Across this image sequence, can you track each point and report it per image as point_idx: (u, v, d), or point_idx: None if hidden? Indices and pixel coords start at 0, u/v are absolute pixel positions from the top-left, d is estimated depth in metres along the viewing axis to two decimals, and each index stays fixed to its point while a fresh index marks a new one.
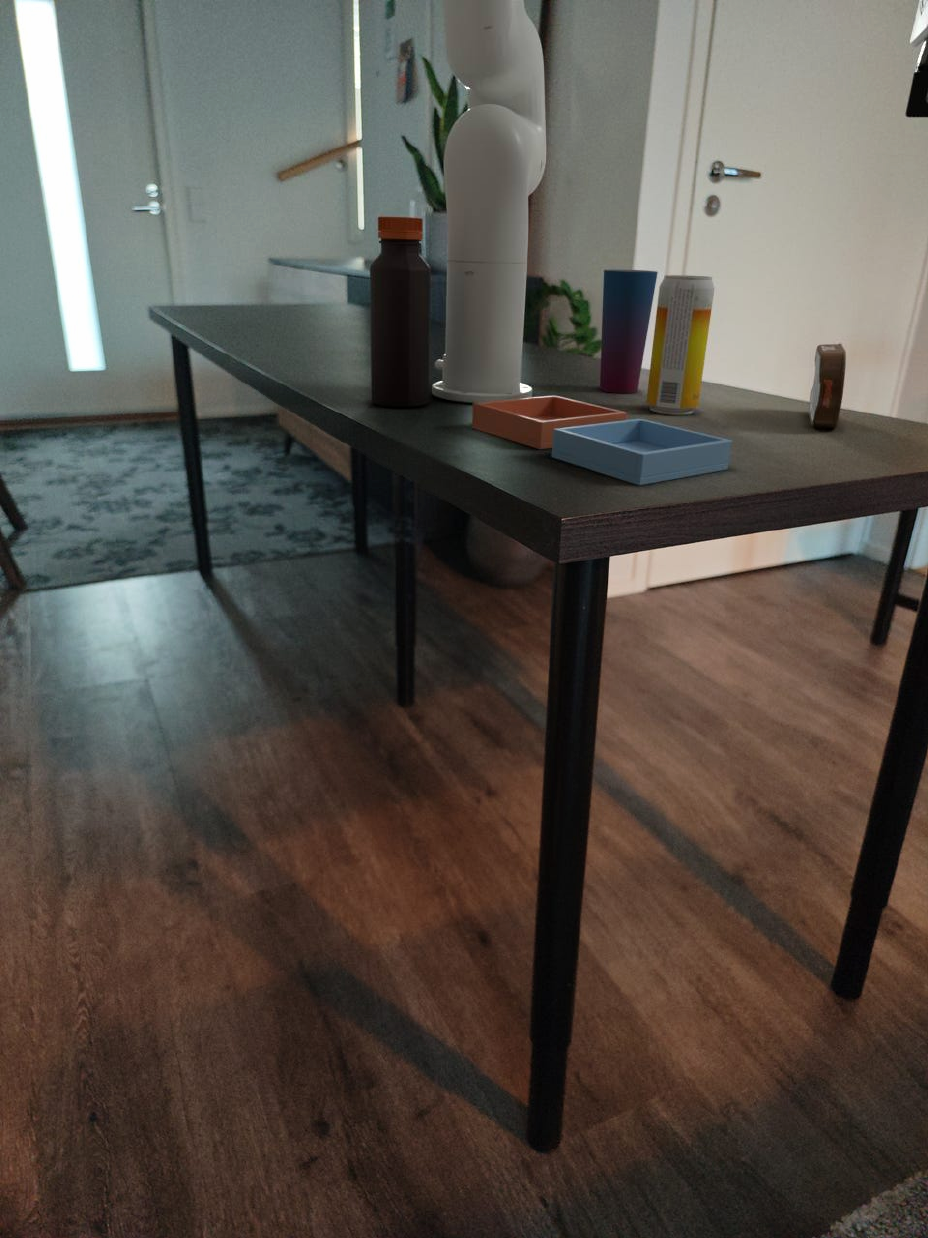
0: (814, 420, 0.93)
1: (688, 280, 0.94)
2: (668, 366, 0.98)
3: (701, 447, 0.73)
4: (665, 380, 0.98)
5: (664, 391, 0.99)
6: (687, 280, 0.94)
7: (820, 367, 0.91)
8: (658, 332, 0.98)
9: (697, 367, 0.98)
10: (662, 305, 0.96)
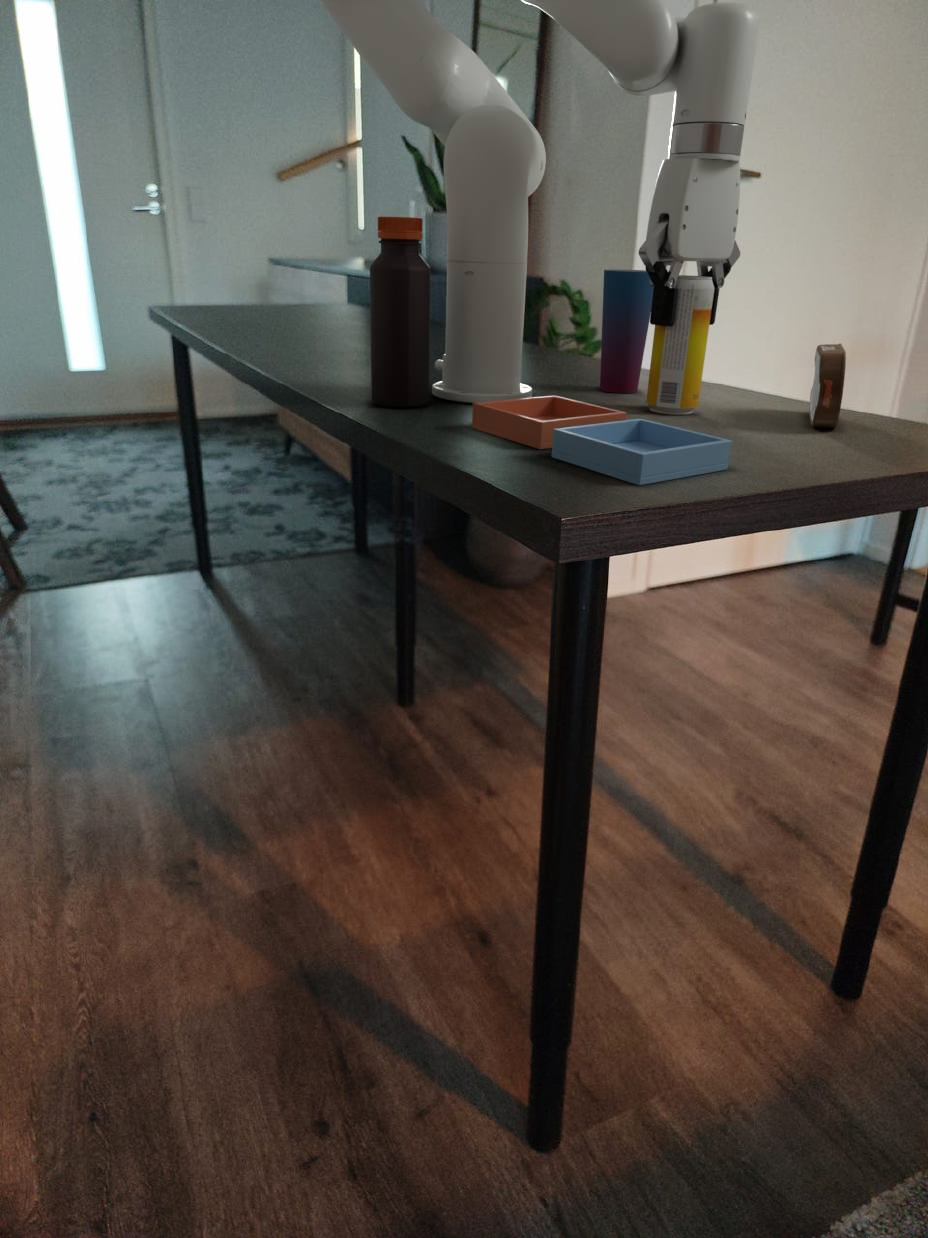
0: (814, 420, 0.93)
1: (688, 280, 0.94)
2: (668, 366, 0.98)
3: (701, 447, 0.73)
4: (665, 380, 0.98)
5: (664, 391, 0.99)
6: (687, 280, 0.94)
7: (820, 367, 0.91)
8: (658, 332, 0.98)
9: (697, 367, 0.98)
10: None
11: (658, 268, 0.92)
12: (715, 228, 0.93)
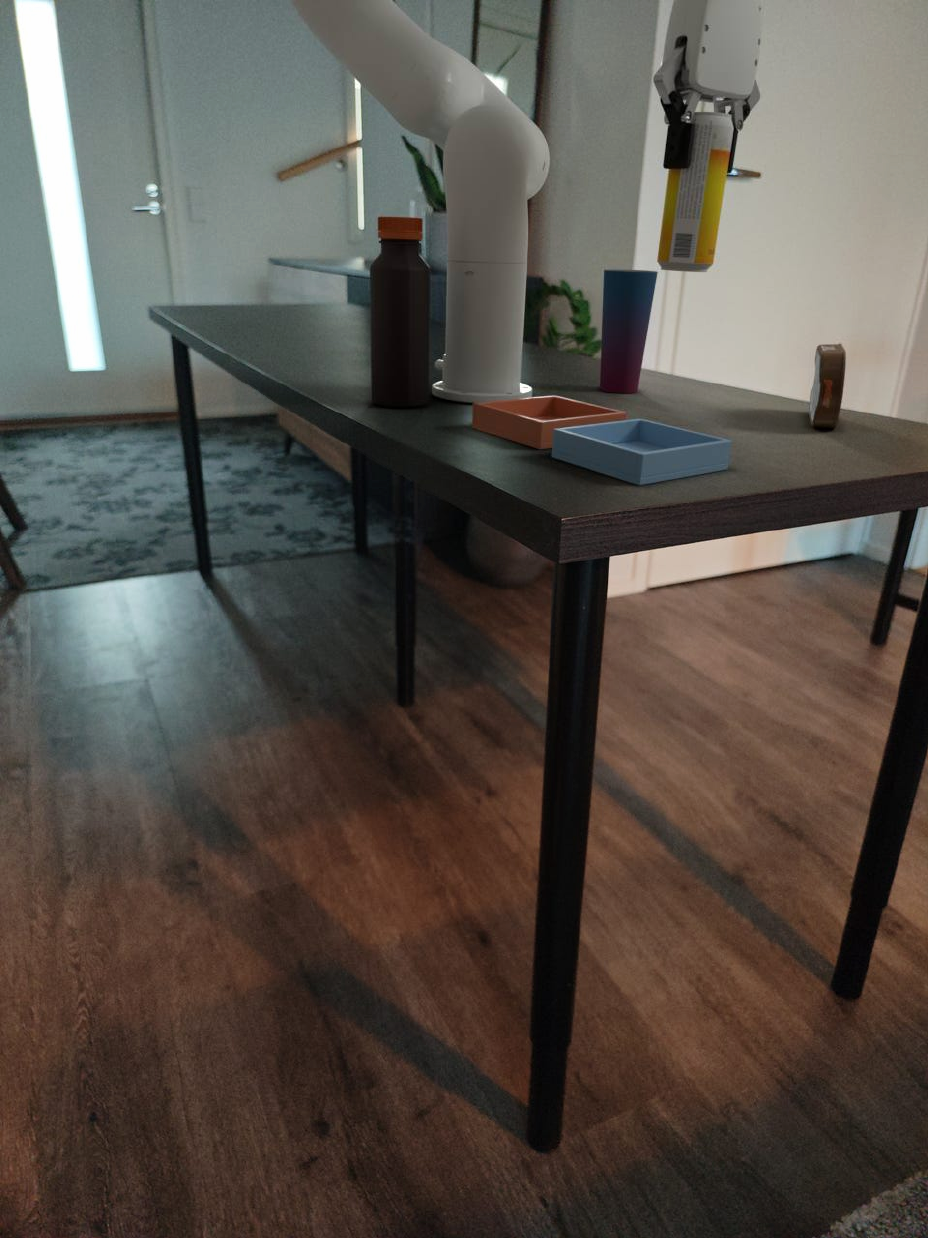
0: (814, 420, 0.93)
1: (706, 115, 0.86)
2: (682, 215, 0.90)
3: (701, 447, 0.73)
4: (679, 231, 0.91)
5: (677, 244, 0.91)
6: (705, 116, 0.86)
7: (820, 367, 0.91)
8: (672, 178, 0.90)
9: (713, 217, 0.90)
10: None
11: (674, 98, 0.84)
12: (736, 57, 0.85)
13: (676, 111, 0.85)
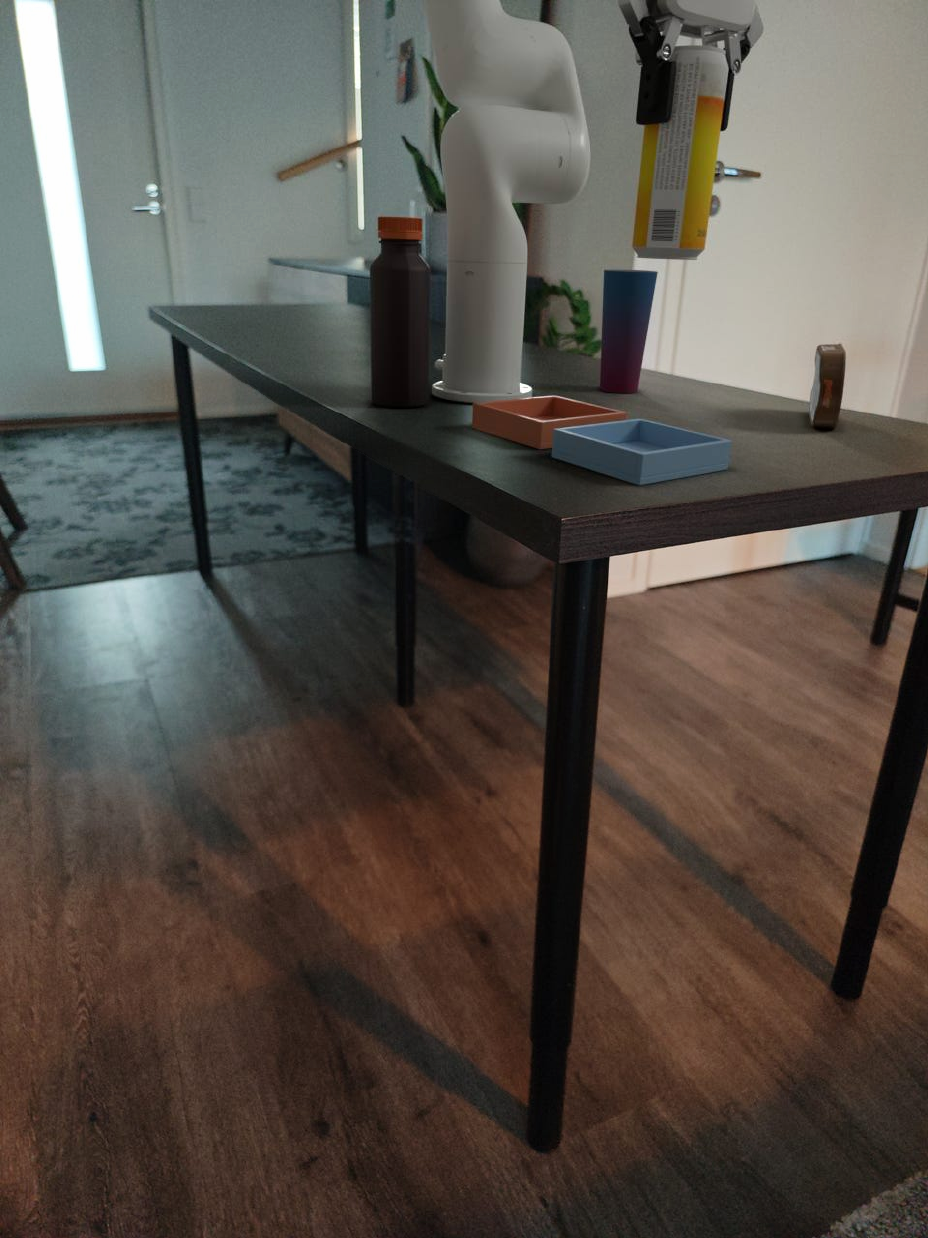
0: (814, 420, 0.93)
1: (691, 50, 0.65)
2: (662, 185, 0.69)
3: (701, 447, 0.73)
4: (658, 206, 0.69)
5: (657, 224, 0.70)
6: (689, 51, 0.65)
7: (820, 367, 0.91)
8: (648, 137, 0.69)
9: (703, 187, 0.69)
10: None
11: (647, 26, 0.63)
12: None
13: (650, 45, 0.64)
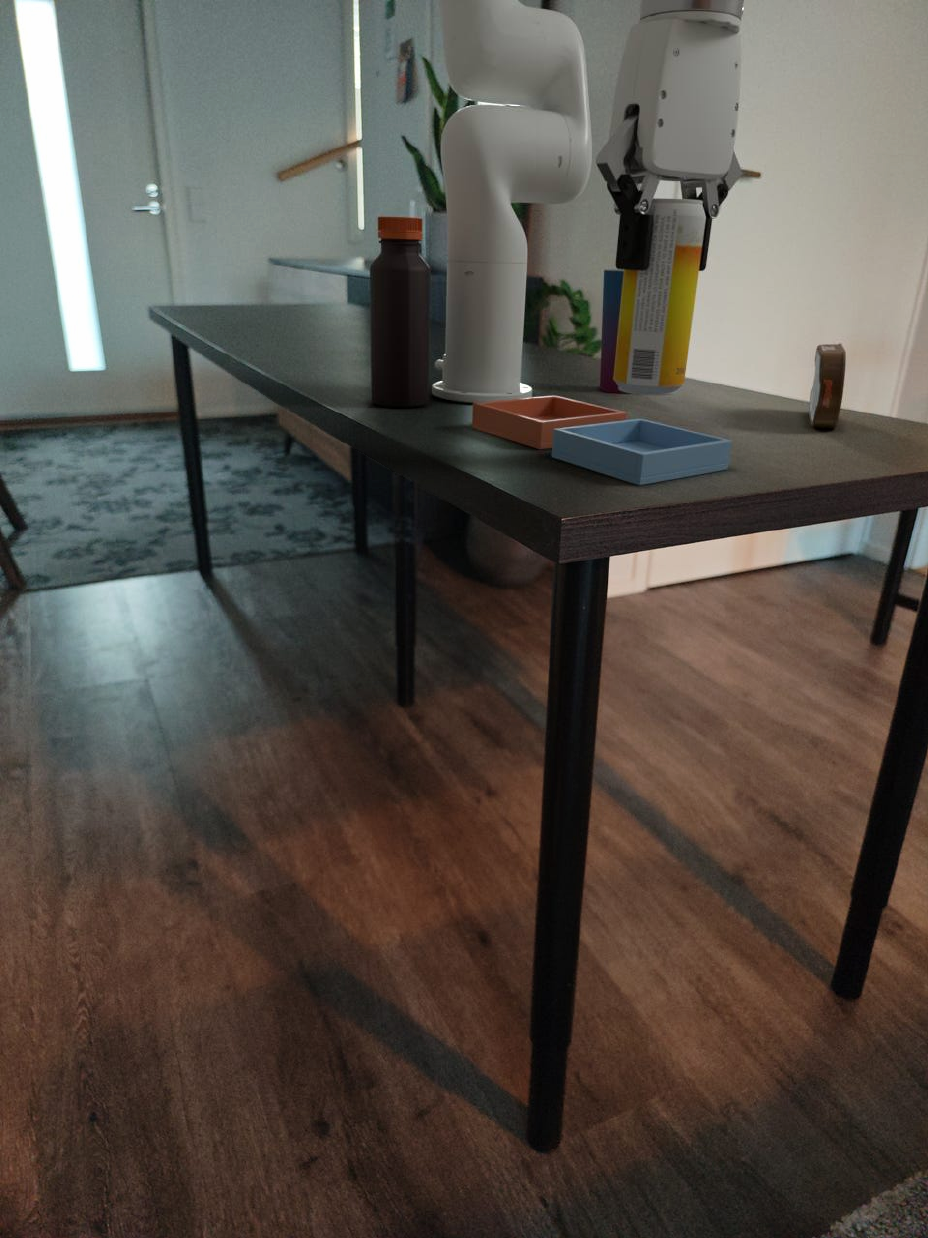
0: (814, 420, 0.93)
1: (668, 203, 0.66)
2: (641, 327, 0.70)
3: (701, 447, 0.73)
4: (638, 346, 0.71)
5: (636, 362, 0.71)
6: (667, 204, 0.66)
7: (820, 367, 0.91)
8: (628, 280, 0.70)
9: (682, 329, 0.70)
10: None
11: (624, 184, 0.65)
12: (706, 128, 0.65)
13: (628, 200, 0.65)
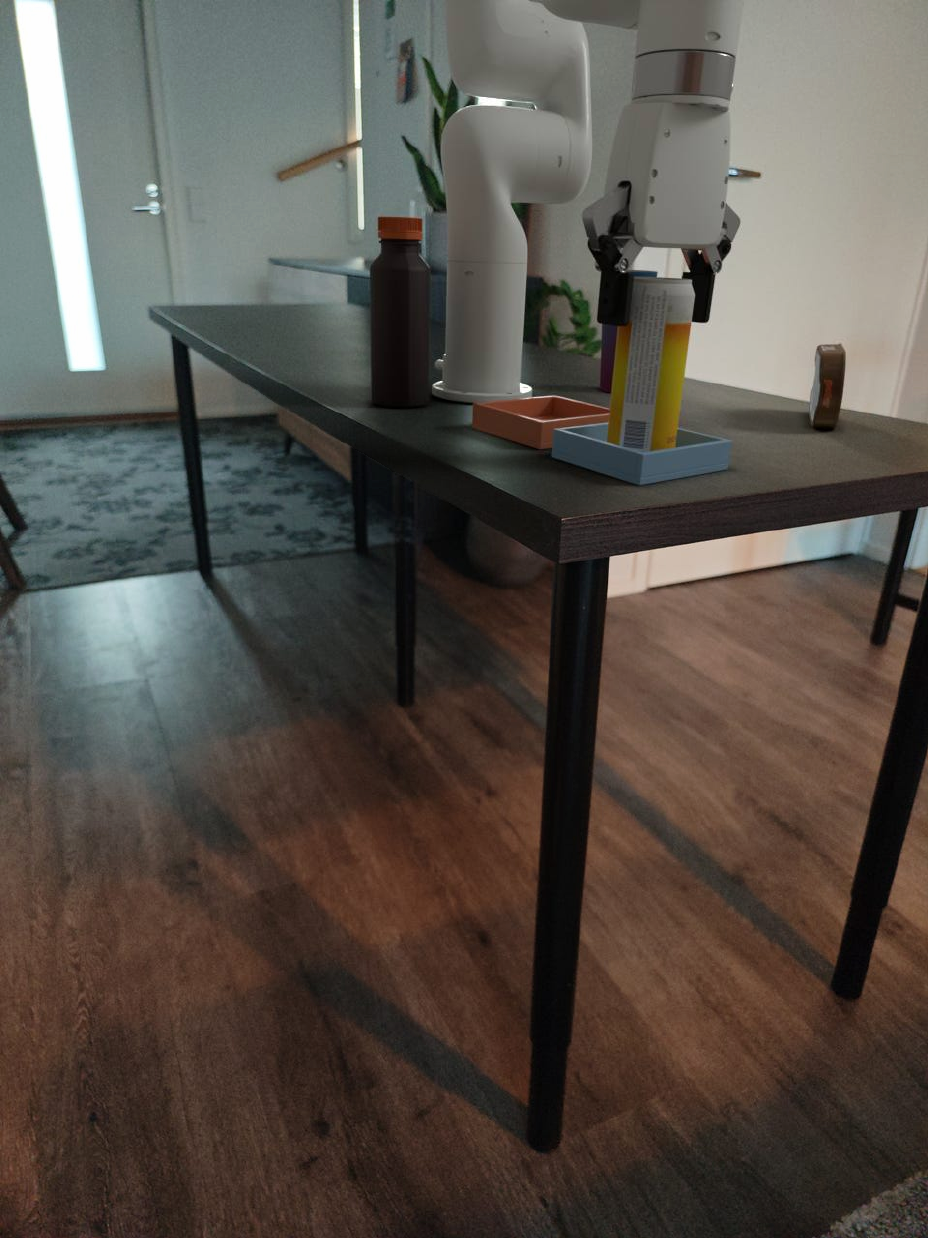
0: (814, 420, 0.93)
1: (658, 284, 0.69)
2: (633, 399, 0.73)
3: (701, 447, 0.73)
4: (629, 417, 0.73)
5: (628, 432, 0.74)
6: (657, 284, 0.69)
7: (820, 367, 0.91)
8: (620, 354, 0.73)
9: (672, 401, 0.73)
10: None
11: (604, 245, 0.66)
12: (696, 202, 0.67)
13: (608, 259, 0.66)
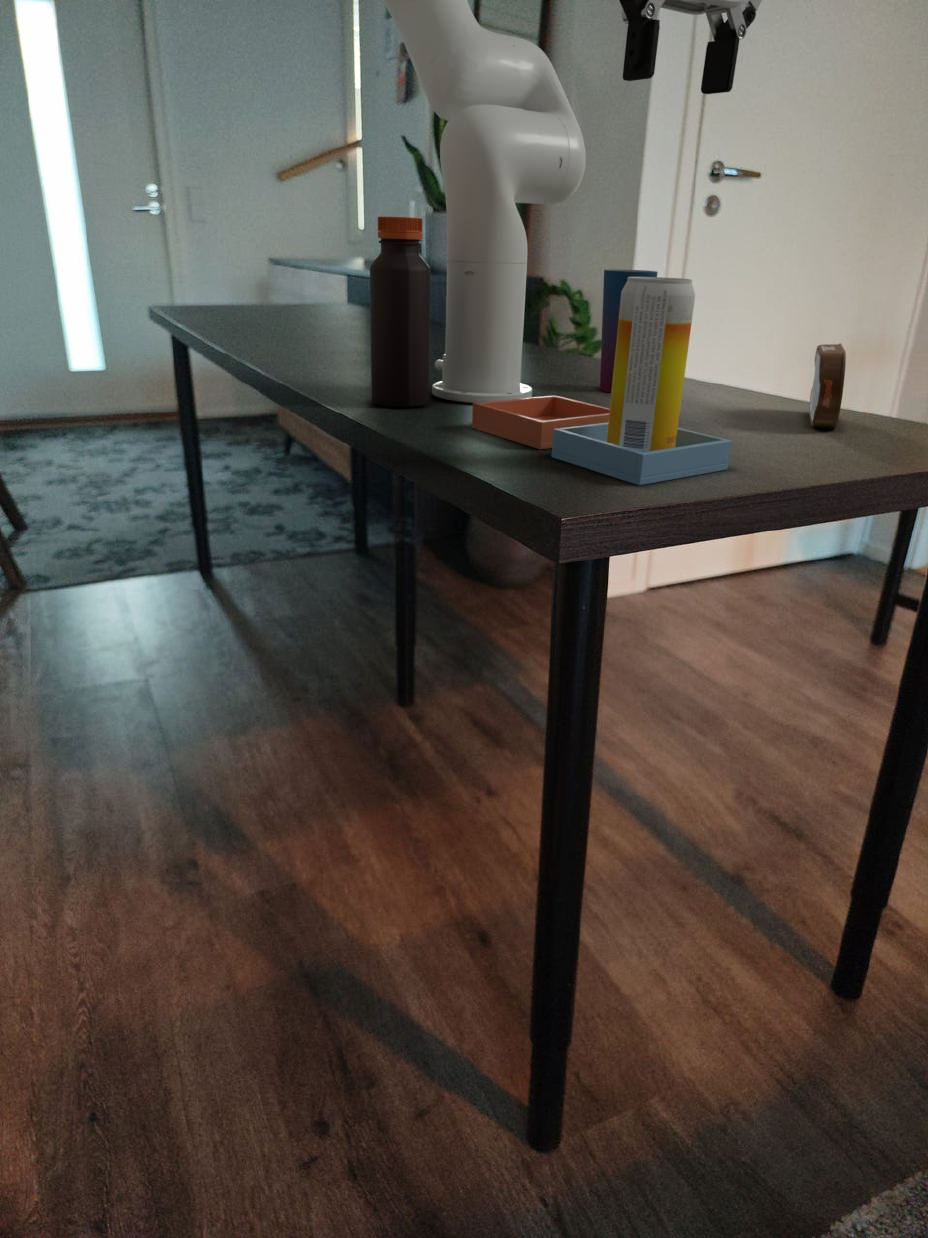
0: (814, 420, 0.93)
1: (659, 284, 0.69)
2: (633, 399, 0.73)
3: (701, 447, 0.73)
4: (629, 417, 0.73)
5: (628, 432, 0.74)
6: (657, 284, 0.69)
7: (820, 367, 0.91)
8: (620, 354, 0.73)
9: (672, 401, 0.73)
10: (625, 318, 0.71)
11: None
12: None
13: (635, 4, 0.69)
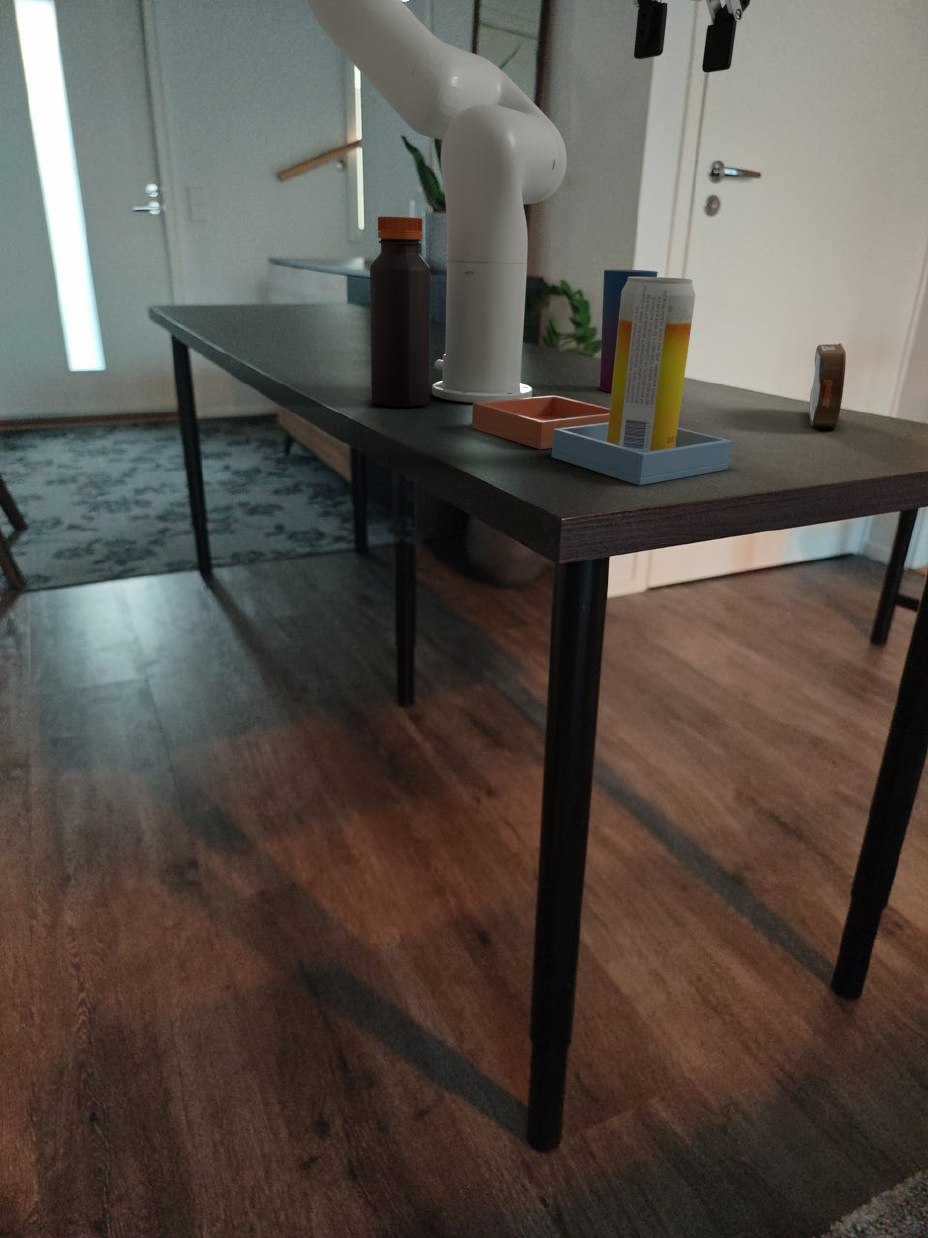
0: (814, 420, 0.93)
1: (659, 284, 0.69)
2: (633, 399, 0.73)
3: (701, 447, 0.73)
4: (629, 417, 0.73)
5: (628, 432, 0.74)
6: (657, 284, 0.69)
7: (820, 367, 0.91)
8: (620, 354, 0.72)
9: (672, 401, 0.73)
10: (625, 318, 0.71)
11: None
12: None
13: None
